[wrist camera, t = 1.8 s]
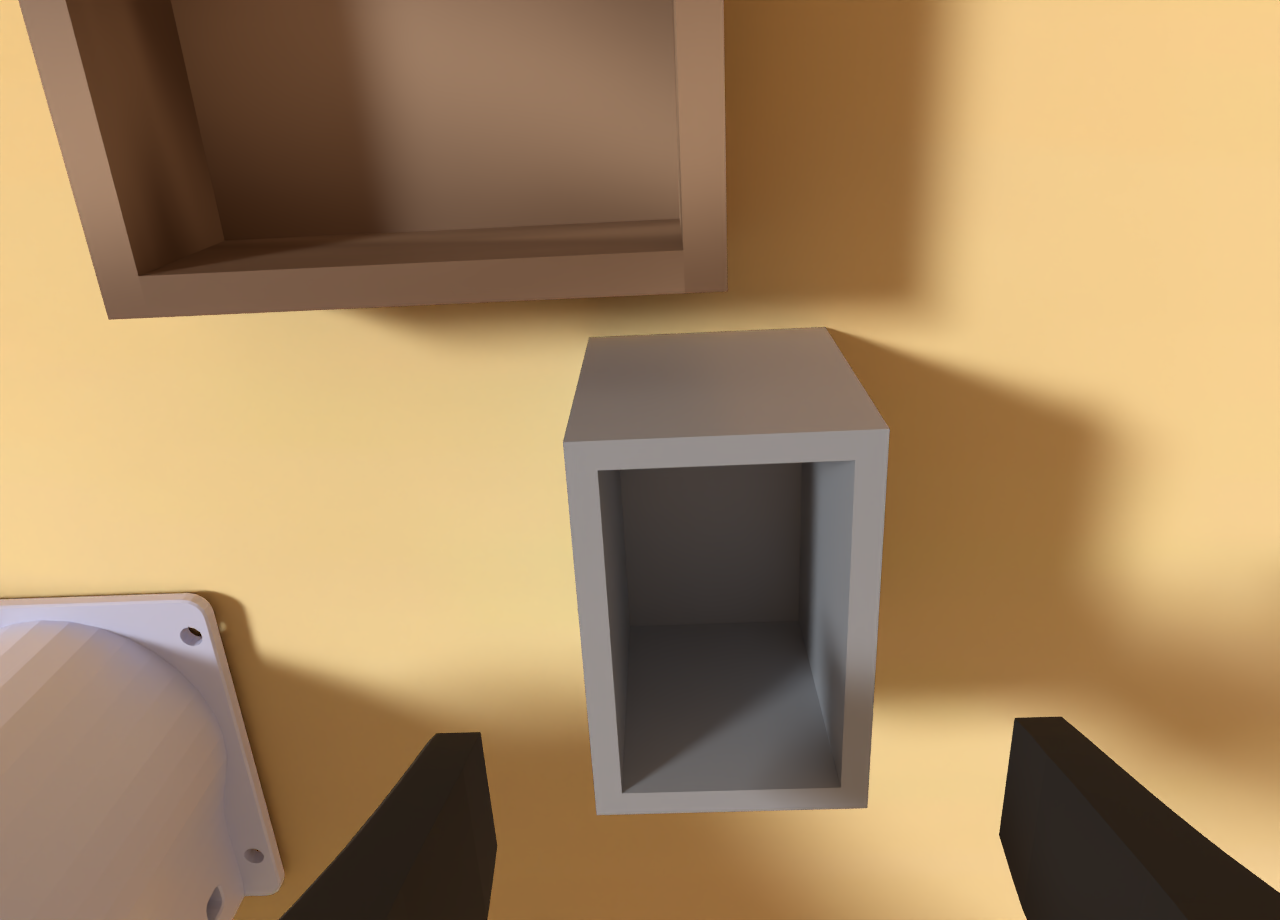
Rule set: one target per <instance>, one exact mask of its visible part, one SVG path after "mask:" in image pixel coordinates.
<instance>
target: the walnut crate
mask: <svg viewBox="0 0 1280 920" xmlns="http://www.w3.org/2000/svg"><path fill="white" fill-rule="evenodd" d="M19 4H20V7H21V11H22V14H23V18H24V21H25V25H26V28H27V32H28V36H29V39H30V43H31V46H32V50H33V53H34V57H35V60H36V64H37V67H38V71H39V75H40V78H41V82H42V85H43V89H44V92H45V96H46V99H47V103H48V106H49V110H50V113H51V117H52V121H53V124H54V128H55V131H56V135H57V138H58V142H59V145H60V149H61V152H62V156H63V159H64V163H65V167H66V170H67V174H68V177H69V181H70V184H71V188H72V191H73V195H74V198H75V202H76V206H77V209H78V213H79V216H80V220H81V223H82V227H83V230H84V234H85V237H86V241H87V244H88V248H89V252H90V255H91V259H92V262H93V266H94V269H95V273H96V276H97V280H98V283H99V287H100V290H101V294H102V298H103V301H104V305H105V308H106V312H107V315H108V319H109V320H110V319H131V318H153V317H175V316H197V315H219V314H241V313H263V312H285V311H307V310H329V309H351V308H373V307H395V306H417V305H439V304H461V303H483V302H504V301H526V300H548V299H570V298H592V297H614V296H636V295H658V294H680V293H702V292H724V291H728V286H727V214H726V142H725V70H724V0H19Z"/></svg>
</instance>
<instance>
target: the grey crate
mask: <svg viewBox="0 0 1280 920" xmlns="http://www.w3.org/2000/svg"><path fill="white" fill-rule="evenodd" d="M889 432H890V429H889V427H888V425H887V424H886V422H885V421H884V419H883V418H882V416H881V414H880V413H879V411H878V410H877V408H876V406H875V405H874V403H873V402H872V400H871V399H870V397H869V395H868V394H867V392H866V391H865V389H864V387H863V386H862V384H861V383H860V381H859V379H858V378H857V376H856V375H855V373H854V372H853V370H852V368H851V367H850V365H849V364H848V362H847V360H846V359H845V357H844V356H843V354H842V353H841V351H840V349H839V348H838V346H837V345H836V343H835V341H834V340H833V338H832V337H831V335H830V334H829V332H828V330H827V329H826V327H815V328H792V329H769V330H747V331H724V332H701V333H678V334H655V335H633V336H610V337H589V340H588V344H587V348H586V352H585V356H584V360H583V364H582V368H581V372H580V376H579V380H578V384H577V388H576V392H575V396H574V400H573V404H572V408H571V412H570V416H569V420H568V424H567V428H566V432H565V436H564V440H563V447H564V459H565V470H566V481H567V492H568V503H569V514H570V525H571V536H572V547H573V558H574V569H575V580H576V592H577V603H578V614H579V625H580V636H581V647H582V658H583V669H584V680H585V691H586V702H587V714H588V725H589V736H590V747H591V758H592V769H593V780H594V791H595V802H596V813H597V815H620V814H658V813H697V812H735V811H774V810H812V809H850V808H867V804H868V787H869V770H870V754H871V737H872V720H873V703H874V686H875V669H876V652H877V635H878V618H879V601H880V584H881V567H882V550H883V533H884V517H885V500H886V483H887V466H888V449H889Z"/></svg>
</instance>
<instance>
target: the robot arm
mask: <svg viewBox="0 0 1280 920" xmlns="http://www.w3.org/2000/svg"><path fill="white" fill-rule="evenodd" d="M188 627H190V628H195V629H196V630H198V631H199V632H200V633H201V635H202V637H200V636H195V635H194V634H192V633H191V632H190V630H189V629H188ZM999 836H1000V839H1001V843H1002V846H1003V849H1004V852H1005V856H1006V859H1007V862H1008V866H1009V869H1010V872H1011V876H1012V879H1013V882H1014V885H1015V888H1016V891H1017V894H1018V897H1019V900H1020V903H1021V906H1022V909H1023V911H1024V914H1025V916H1026V918H1027V920H1280V893H1279V892H1278V891H1276V890H1275V889H1273V888H1272V887H1271V886H1269V885H1268V884H1267V883H1265V882H1264V881H1263V880H1261V879H1260V878H1259V877H1257V876H1256V875H1255V874H1253V873H1252V872H1250V871H1249V870H1248V869H1246V868H1245V867H1244V866H1242V865H1241V864H1240V863H1238V862H1237V861H1236V860H1234V859H1233V858H1232V857H1230V856H1229V855H1228V854H1226V853H1225V852H1224V851H1222V850H1221V849H1220V848H1219V847H1217V846H1216V845H1215V844H1213V843H1212V842H1211V841H1210V840H1208V839H1207V838H1206V837H1204V836H1203V835H1202V834H1201V833H1199V832H1198V831H1197V830H1196V829H1194V828H1193V827H1192V826H1191V825H1189V824H1188V823H1187V822H1186V821H1184V820H1183V819H1182V818H1181V817H1180V816H1178V815H1177V814H1176V813H1175V812H1173V811H1172V810H1171V809H1170V808H1169V807H1167V806H1166V805H1165V804H1164V803H1162V802H1161V801H1160V800H1159V799H1158V798H1156V797H1155V796H1154V795H1153V794H1152V793H1150V792H1149V791H1148V790H1147V789H1146V788H1145V787H1143V786H1142V785H1141V784H1140V783H1139V782H1137V781H1136V780H1135V779H1134V778H1133V777H1132V776H1130V775H1129V774H1128V773H1127V772H1126V771H1125V770H1123V769H1122V768H1121V767H1120V766H1119V765H1118V764H1116V763H1115V762H1114V761H1113V760H1112V759H1111V758H1109V757H1108V756H1107V755H1106V754H1105V753H1104V752H1102V751H1101V750H1100V749H1099V748H1098V747H1097V746H1096V745H1094V744H1093V743H1092V742H1091V741H1090V740H1089V739H1087V738H1086V737H1085V736H1084V735H1083V734H1082V733H1080V732H1079V731H1078V730H1077V729H1076V728H1074V727H1073V726H1072V725H1071V724H1070V723H1068V722H1067V721H1066V720H1065V719H1064V718H1062V717H1032V718H1015V720H1014V727H1013V735H1012V742H1011V750H1010V757H1009V765H1008V772H1007V780H1006V787H1005V795H1004V802H1003V810H1002V817H1001V825H1000V832H999ZM254 849H257V850H259V851H260V852H259V851H256V850H254ZM496 851H497V842H496V835H495V828H494V821H493V814H492V808H491V801H490V794H489V787H488V781H487V774H486V767H485V760H484V754H483V747H482V740H481V733H480V732H473V733H436V734H435V735H434V736H433V737H432V738H431V739H430V740H429V742H428V743H427V744H426V746H425V747H424V748H423V750H422V751H421V752H420V754H419V755H418V756H417V758H416V759H415V760H414V762H413V763H412V764H411V766H410V767H409V768H408V770H407V771H406V772H405V773H404V775H403V776H402V777H401V779H400V780H399V781H398V783H397V784H396V785H395V786H394V788H393V789H392V790H391V792H390V793H389V794H388V795H387V797H386V798H385V799H384V800H383V802H382V803H381V804H380V806H379V807H378V808H377V809H376V811H375V812H374V813H373V814H372V815H371V817H370V818H369V819H368V820H367V821H366V823H365V824H364V825H363V826H362V827H361V829H360V830H359V831H358V832H357V834H356V835H355V836H354V837H353V838H352V840H351V841H350V842H349V843H348V844H347V846H346V847H345V848H344V849H343V850H342V851H341V853H340V854H339V855H338V856H337V857H336V858H335V860H334V861H333V862H332V863H331V864H330V865H329V866H328V867H327V868H326V869H325V871H324V872H323V873H322V874H321V875H320V876H319V877H318V878H317V879H316V880H315V882H314V883H313V884H312V885H311V886H310V887H309V888H308V889H307V890H306V891H305V892H304V894H303V895H302V896H301V897H300V898H299V899H298V900H297V901H296V902H295V903H294V904H293V905H292V907H291V908H290V909H289V910H288V911H287V912H286V913H285V914H284V915H283V916H282V917H281V918H280V919H279V920H487V917H488V910H489V903H490V896H491V890H492V882H493V874H494V866H495V859H496ZM284 878H285V873H284V869H283V865H282V862H281V858H280V854H279V851H278V847H277V843H276V839H275V836H274V832H273V828H272V825H271V821H270V817H269V814H268V810H267V806H266V803H265V799H264V795H263V792H262V788H261V784H260V780H259V777H258V773H257V769H256V766H255V762H254V758H253V755H252V751H251V747H250V744H249V740H248V736H247V733H246V729H245V725H244V722H243V718H242V714H241V710H240V707H239V703H238V699H237V696H236V692H235V688H234V685H233V681H232V677H231V674H230V670H229V666H228V663H227V659H226V655H225V651H224V648H223V644H222V640H221V637H220V633H219V629H218V626H217V622H216V618H215V615H214V611H213V609H212V607H211V605H210V603H209V602H208V601H207V600H206V599H205V598H203V597H201V596H199V595H197V594H191V593H174V594H144V595H114V596H85V597H55V598H25V599H0V920H233V918H234V916H235V914H236V912H237V910H238V908H239V906H240V904H241V902H242V900H243V898H244V896H266V895H272V894H274V893H276V892H278V890H279V889H280V887H281V885H282V883H283V880H284Z"/></svg>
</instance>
